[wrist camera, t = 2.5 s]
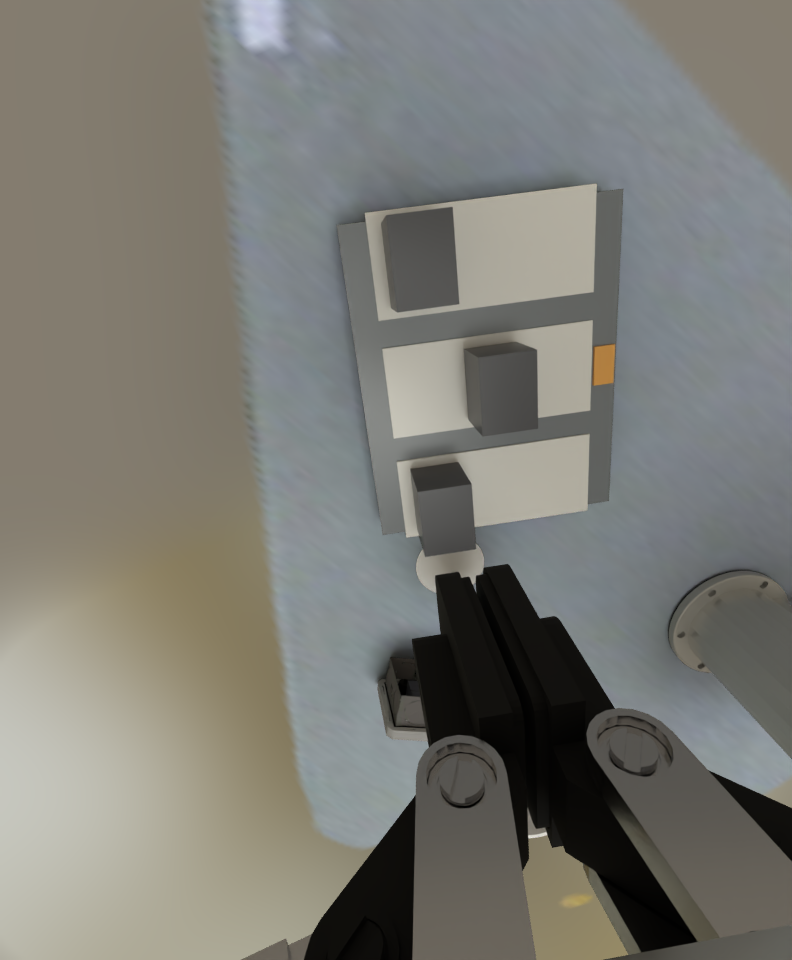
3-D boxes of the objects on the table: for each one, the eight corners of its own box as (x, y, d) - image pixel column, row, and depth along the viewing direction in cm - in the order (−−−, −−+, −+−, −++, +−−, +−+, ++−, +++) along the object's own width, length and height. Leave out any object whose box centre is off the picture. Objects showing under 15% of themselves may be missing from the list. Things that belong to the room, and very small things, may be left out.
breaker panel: (603, 187, 37) (666, 165, 30) (593, 492, 47) (639, 532, 39) (336, 221, 37) (333, 207, 29) (381, 524, 46) (387, 571, 39)
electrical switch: (375, 684, 53) (383, 754, 44) (383, 642, 52) (393, 706, 43) (460, 690, 55) (484, 759, 46) (470, 649, 53) (496, 713, 44)
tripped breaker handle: (516, 341, 37) (537, 349, 33) (518, 412, 40) (538, 428, 35) (463, 348, 37) (478, 357, 33) (468, 420, 39) (482, 436, 35)
